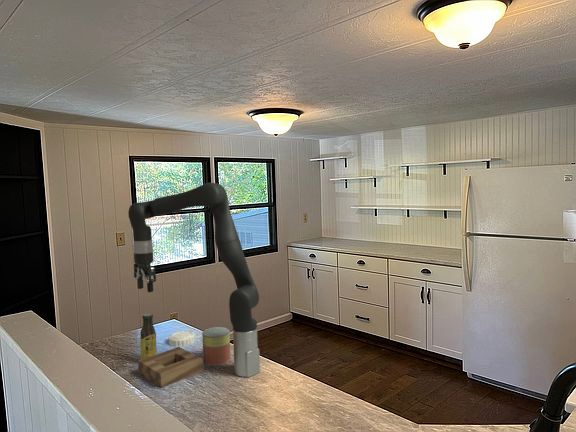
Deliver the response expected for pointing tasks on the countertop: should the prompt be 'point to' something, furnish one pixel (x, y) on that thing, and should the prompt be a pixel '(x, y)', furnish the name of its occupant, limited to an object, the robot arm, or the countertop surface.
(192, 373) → the square wooden frame
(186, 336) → the cream scalloped thick disc
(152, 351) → the sauce bottle
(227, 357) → the canned food
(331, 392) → the countertop surface
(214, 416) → the countertop surface
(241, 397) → the countertop surface
